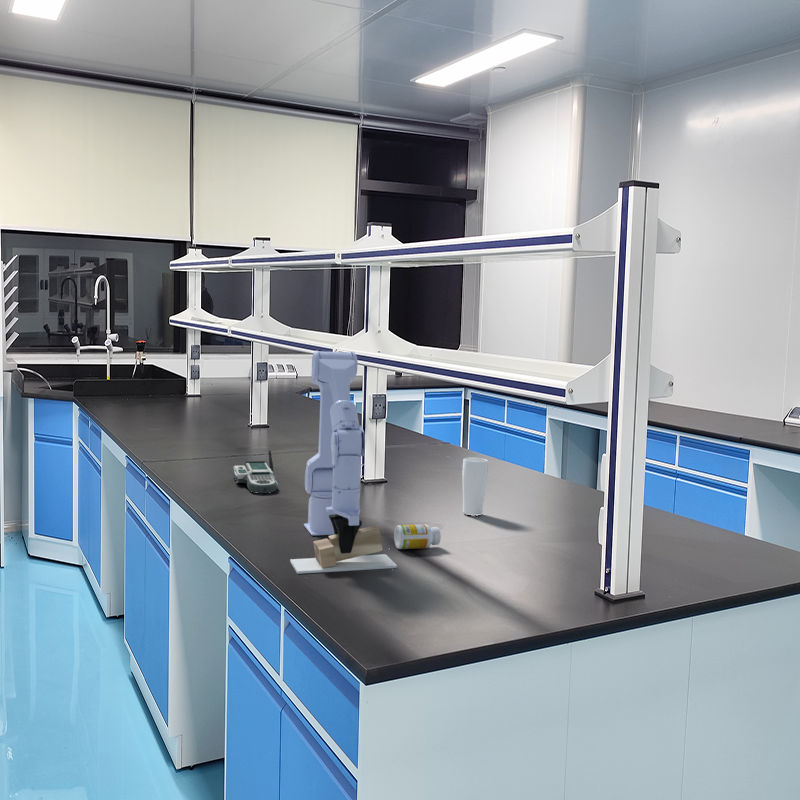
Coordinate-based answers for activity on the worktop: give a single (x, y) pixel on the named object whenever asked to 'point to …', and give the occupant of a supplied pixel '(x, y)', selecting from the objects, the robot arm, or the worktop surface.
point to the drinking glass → (474, 484)
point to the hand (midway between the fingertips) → (343, 550)
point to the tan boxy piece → (363, 545)
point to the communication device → (257, 475)
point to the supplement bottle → (416, 536)
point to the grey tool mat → (344, 564)
